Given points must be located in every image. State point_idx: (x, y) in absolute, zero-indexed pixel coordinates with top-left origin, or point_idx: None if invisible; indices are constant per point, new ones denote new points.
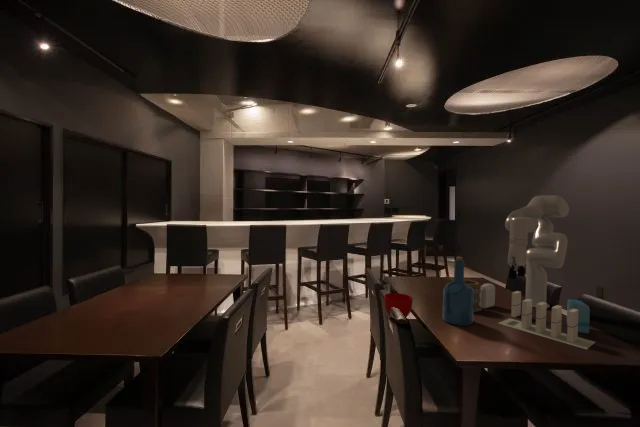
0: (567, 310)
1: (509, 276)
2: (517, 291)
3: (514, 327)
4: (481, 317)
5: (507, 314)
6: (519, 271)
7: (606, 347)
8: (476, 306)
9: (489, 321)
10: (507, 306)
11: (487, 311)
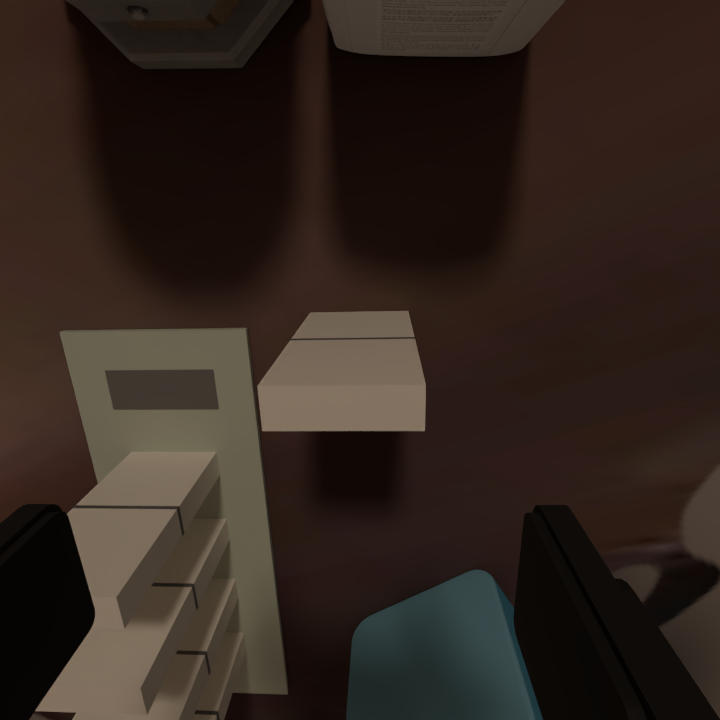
0: (499, 649)
1: (7, 534)
2: (394, 399)
3: (95, 427)
4: (71, 184)
5: (350, 266)
6: (567, 652)
7: (271, 717)
8: (167, 25)
9: (54, 270)
10: (616, 144)
11: (271, 119)
